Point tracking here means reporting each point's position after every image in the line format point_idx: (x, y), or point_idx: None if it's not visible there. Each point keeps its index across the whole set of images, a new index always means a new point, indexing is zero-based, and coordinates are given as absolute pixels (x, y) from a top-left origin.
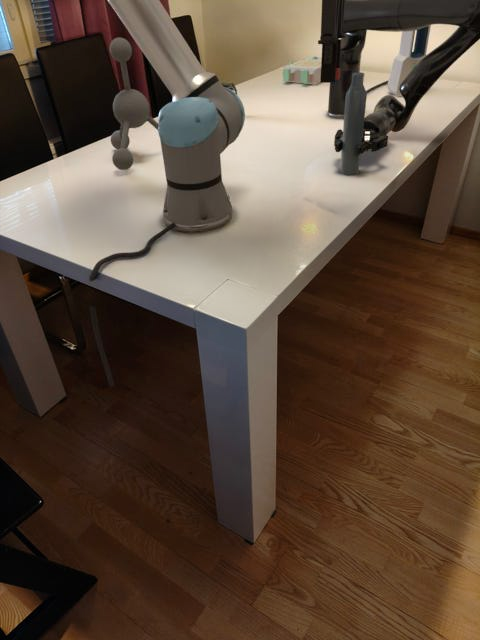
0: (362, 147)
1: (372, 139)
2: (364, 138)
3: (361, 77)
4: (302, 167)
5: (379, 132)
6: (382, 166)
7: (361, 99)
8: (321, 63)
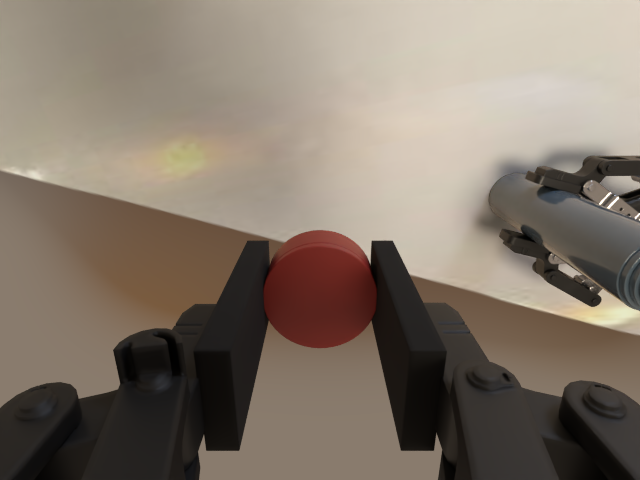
0: (514, 248)
1: None
2: None
3: None
4: (543, 62)
5: None
6: None
7: (612, 292)
8: (227, 282)
